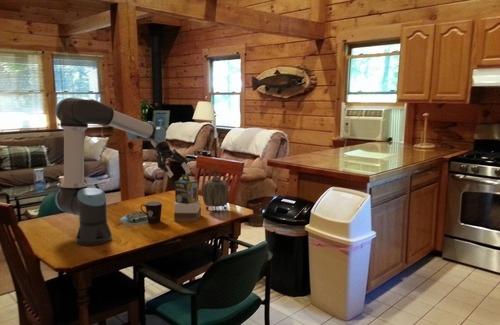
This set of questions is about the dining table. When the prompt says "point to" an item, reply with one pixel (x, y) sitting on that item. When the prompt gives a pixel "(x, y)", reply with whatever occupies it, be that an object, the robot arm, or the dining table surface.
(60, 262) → the dining table surface
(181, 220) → the grey square block
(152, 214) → the coffee mug
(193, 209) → the cream block
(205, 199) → the olive tall rounded piece
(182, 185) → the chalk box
